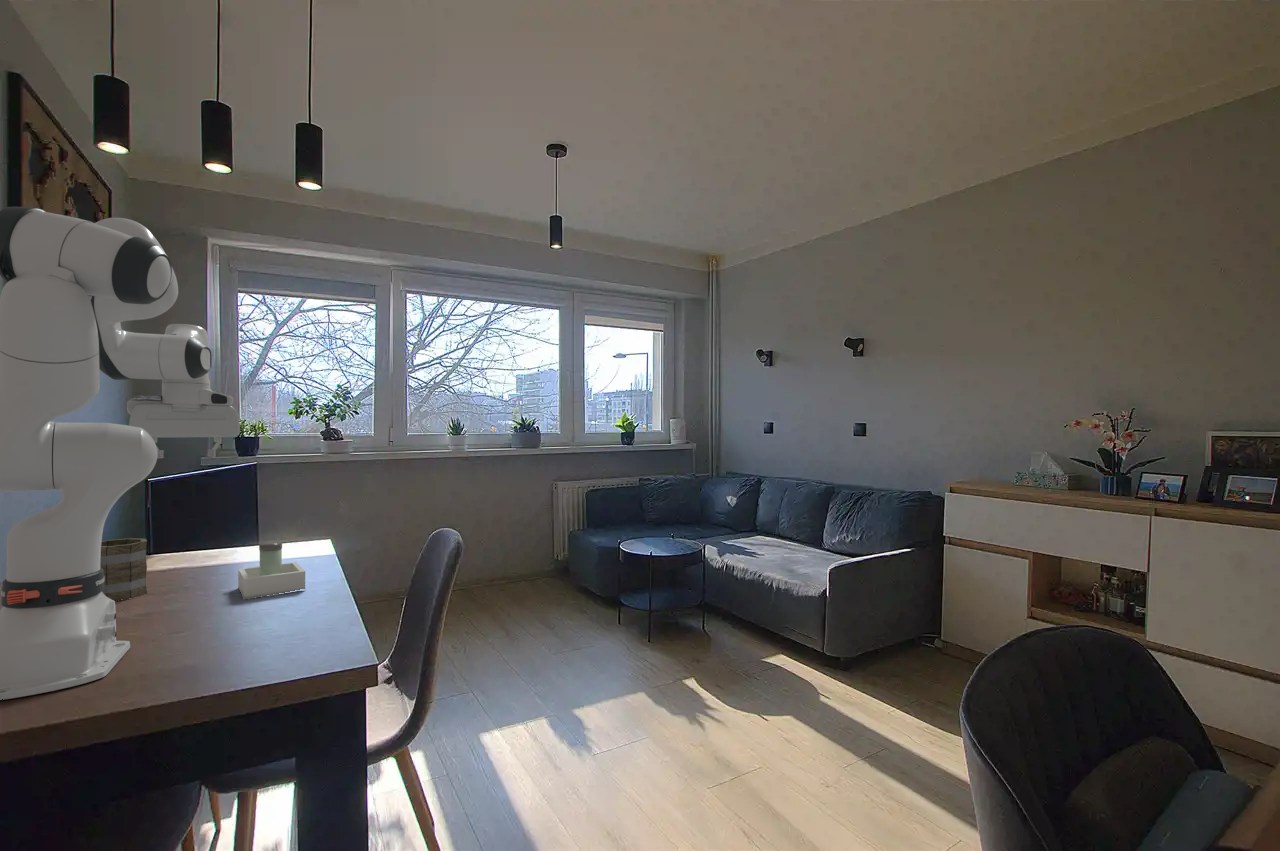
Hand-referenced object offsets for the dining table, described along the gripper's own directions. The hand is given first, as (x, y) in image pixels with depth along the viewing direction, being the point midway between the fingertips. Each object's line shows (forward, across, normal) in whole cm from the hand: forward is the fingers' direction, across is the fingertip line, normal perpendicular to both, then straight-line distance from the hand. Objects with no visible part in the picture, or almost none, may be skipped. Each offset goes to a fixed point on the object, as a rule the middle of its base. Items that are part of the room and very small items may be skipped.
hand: (186, 457), depth 137 cm
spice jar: (+30, +16, -7) cm, 35 cm away
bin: (+31, +16, -7) cm, 36 cm away
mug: (+31, -13, +10) cm, 35 cm away
